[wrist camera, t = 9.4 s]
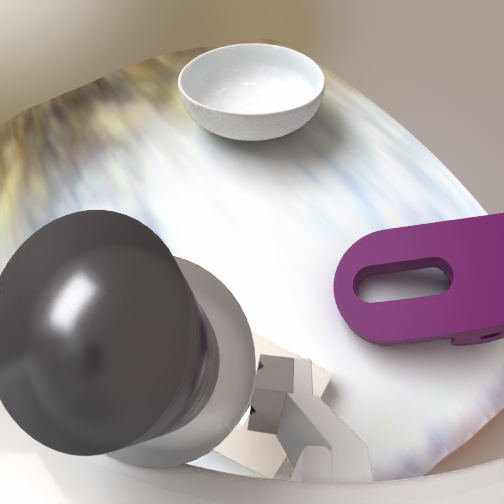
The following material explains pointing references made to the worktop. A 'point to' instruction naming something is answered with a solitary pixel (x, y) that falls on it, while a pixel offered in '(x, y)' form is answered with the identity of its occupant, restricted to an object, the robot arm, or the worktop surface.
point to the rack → (257, 443)
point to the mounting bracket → (437, 306)
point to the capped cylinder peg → (120, 344)
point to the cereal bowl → (251, 91)
